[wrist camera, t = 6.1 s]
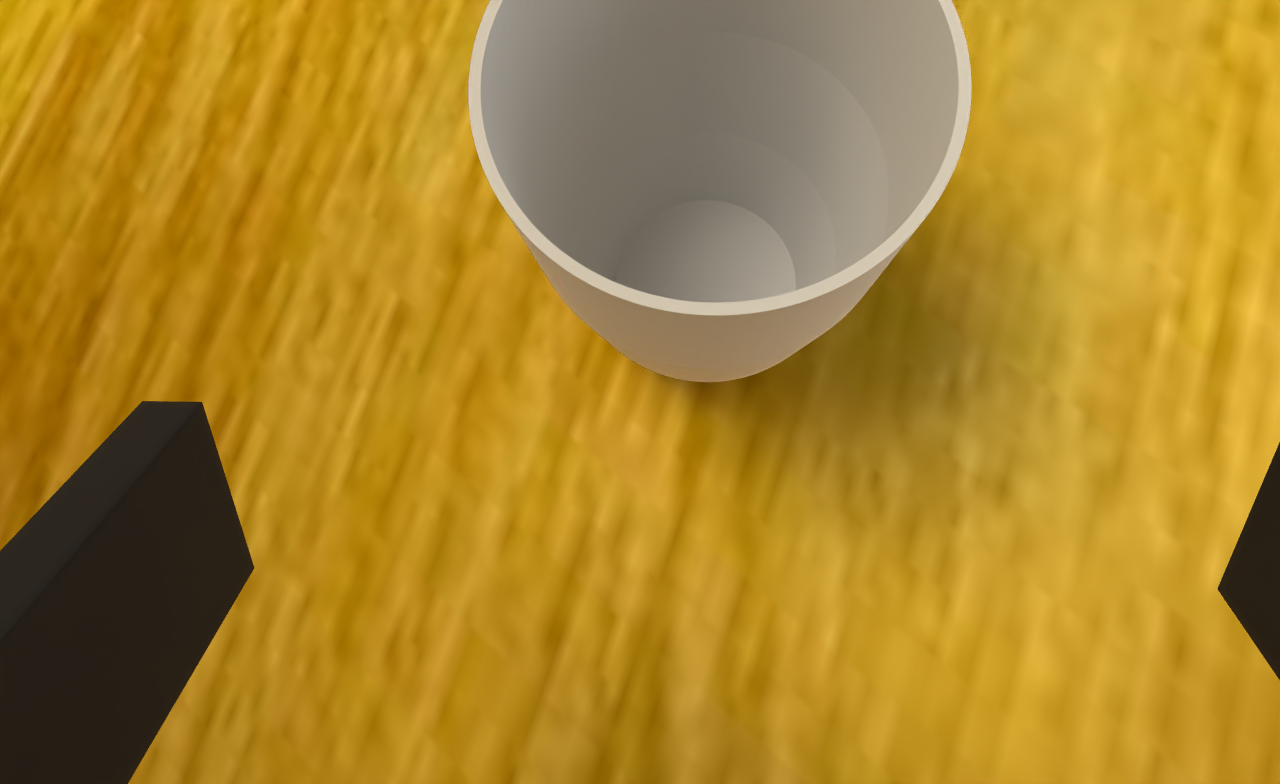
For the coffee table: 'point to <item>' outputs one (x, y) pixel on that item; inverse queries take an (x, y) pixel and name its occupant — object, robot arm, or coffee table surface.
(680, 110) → the cup
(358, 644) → the coffee table surface
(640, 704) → the coffee table surface
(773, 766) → the coffee table surface
